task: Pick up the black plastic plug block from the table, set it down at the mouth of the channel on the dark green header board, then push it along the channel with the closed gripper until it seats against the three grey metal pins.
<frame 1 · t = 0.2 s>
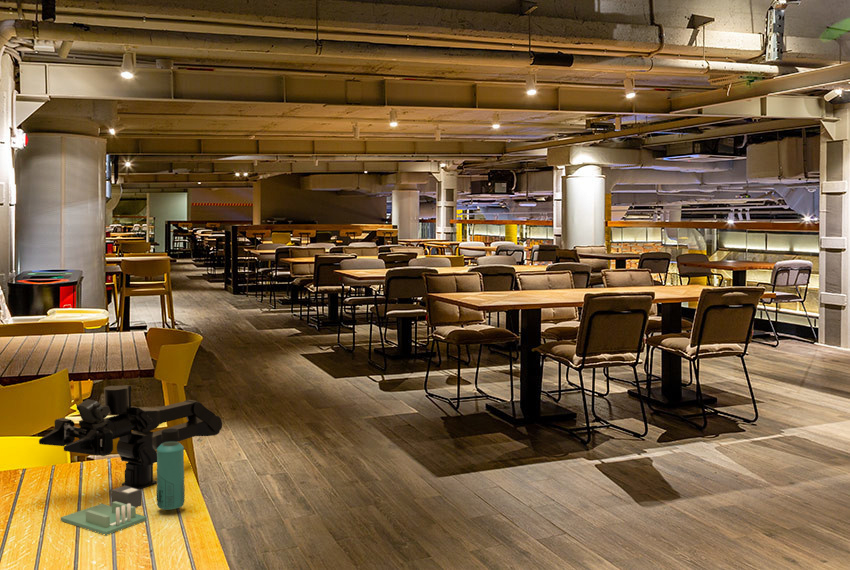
hand: (51, 445, 180), 16 cm above the table, tool horizontal, fingers open, 9 cm apart
beverage bottle: (170, 512, 185), on the table
header board: (103, 520, 178), on the table
plug: (126, 505, 188), on the table
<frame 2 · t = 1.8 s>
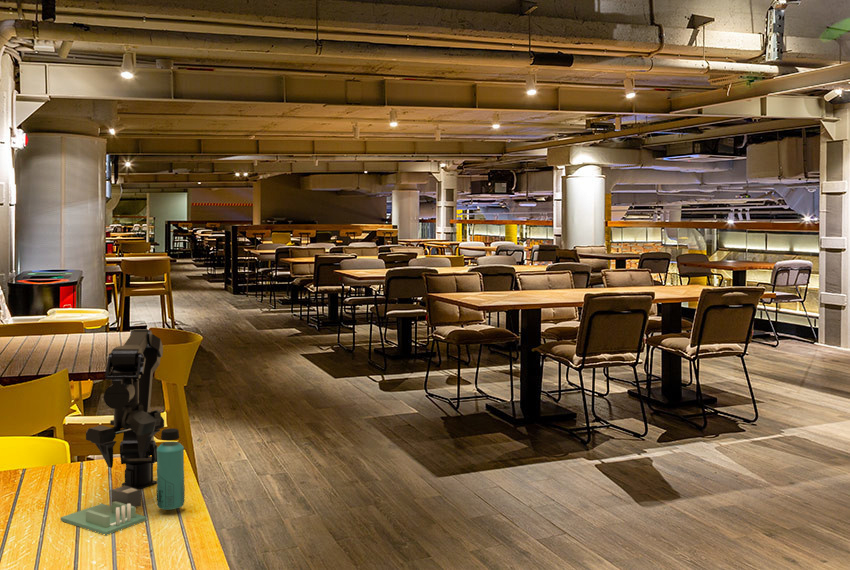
hand: (126, 462, 188), 11 cm above the table, tool pointing down, fingers open, 9 cm apart
nothing on the table moved.
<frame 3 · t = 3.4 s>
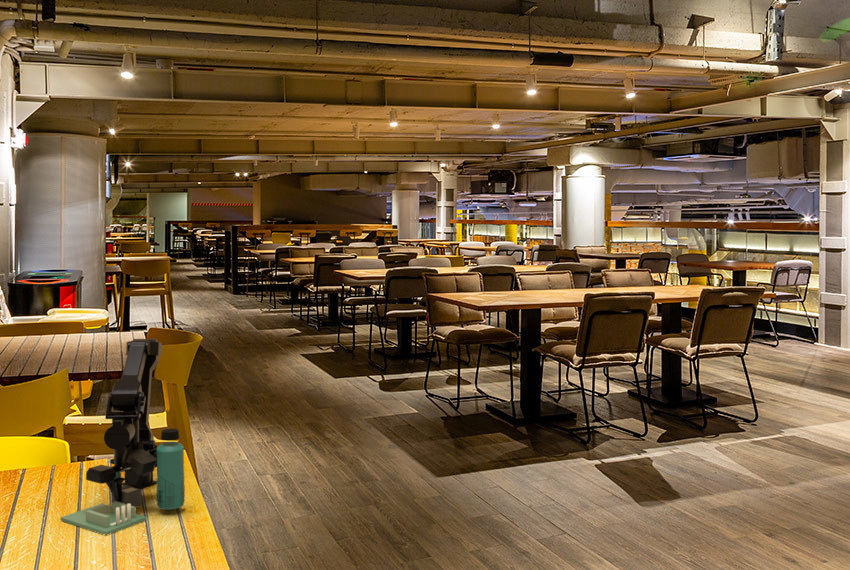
hand: (126, 501, 188), 1 cm above the table, tool pointing down, fingers closed on plug, 4 cm apart
plug: (126, 505, 188), on the table, touching gripper
everything else where it was.
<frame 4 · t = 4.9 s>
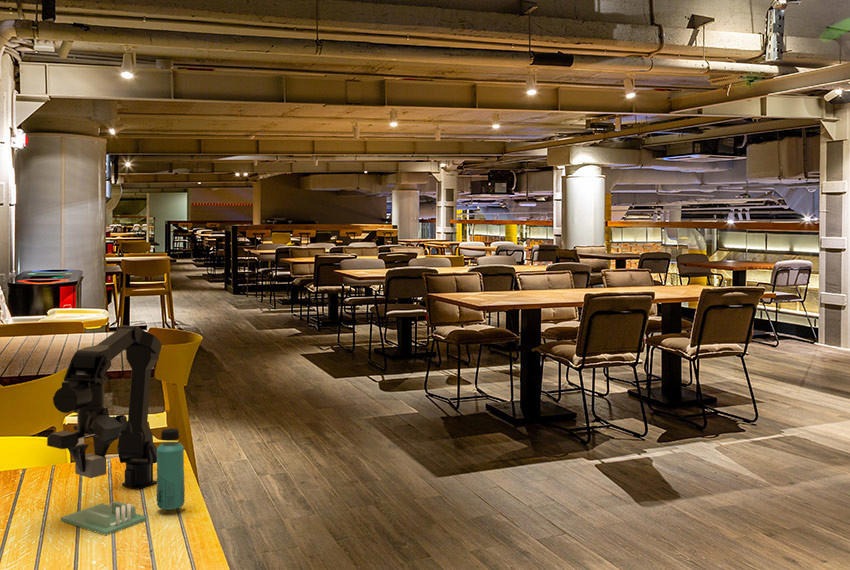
hand: (90, 469, 180), 11 cm above the table, tool pointing down, fingers closed on plug, 4 cm apart
plug: (90, 473, 180), point 10 cm above the table, touching gripper
everything else where it was.
when the fingers open (3 cm above the table, at t = 6.4 s): plug drops 1 cm, resting on header board.
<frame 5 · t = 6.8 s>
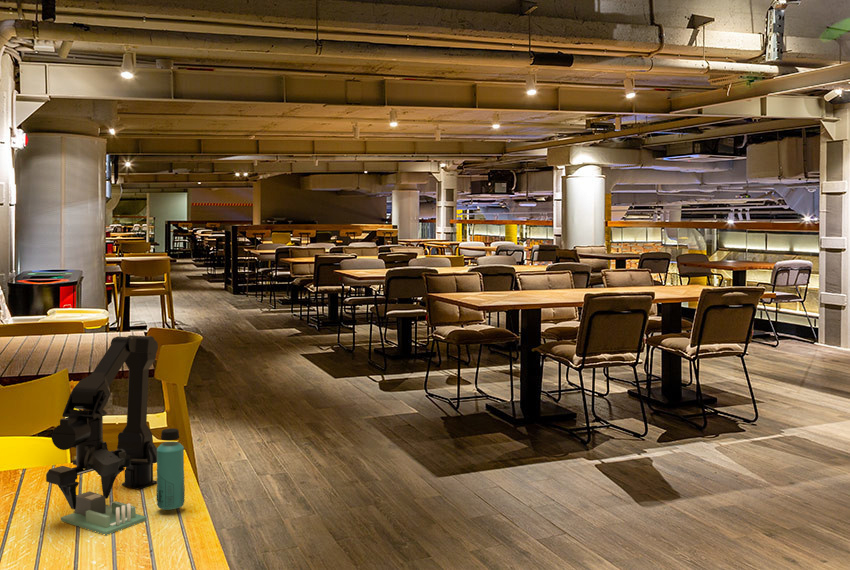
hand: (90, 503, 180), 3 cm above the table, tool pointing down, fingers open, 8 cm apart
plug: (90, 512, 181), point 1 cm above the table, touching header board
everything else where it was.
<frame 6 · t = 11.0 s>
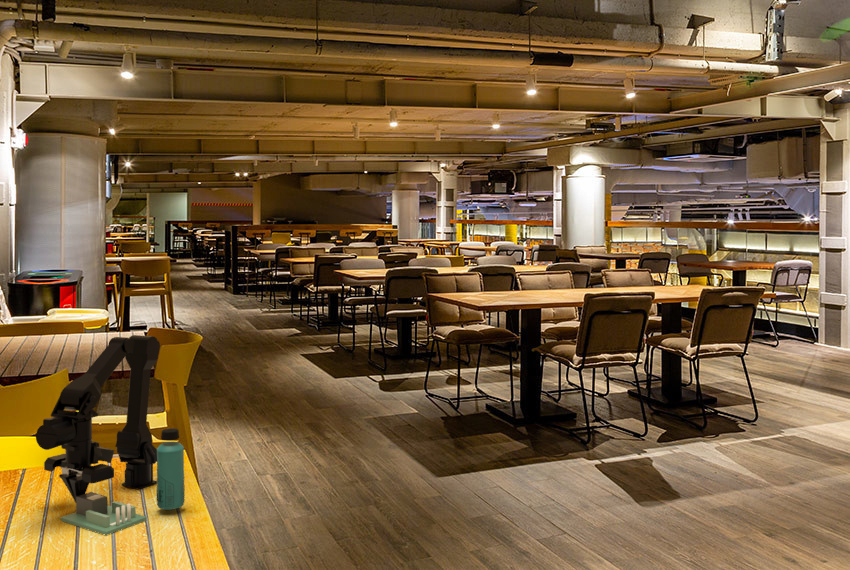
hand: (79, 503, 182), 2 cm above the table, tool pointing down, fingers closed
plug: (91, 513, 180), point 1 cm above the table, touching gripper
everything else where it was.
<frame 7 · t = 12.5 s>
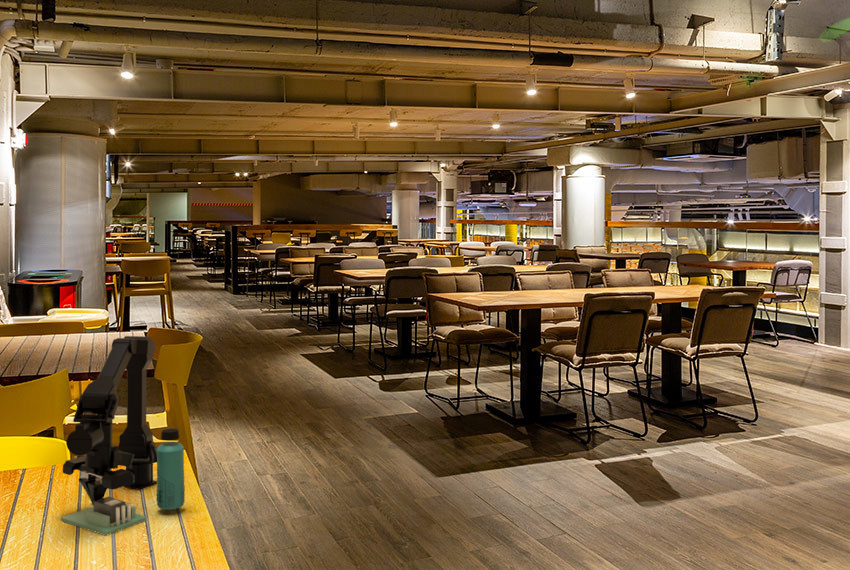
hand: (97, 508, 179), 2 cm above the table, tool pointing down, fingers closed
plug: (109, 518, 177), point 1 cm above the table, touching gripper, header board
everything else where it was.
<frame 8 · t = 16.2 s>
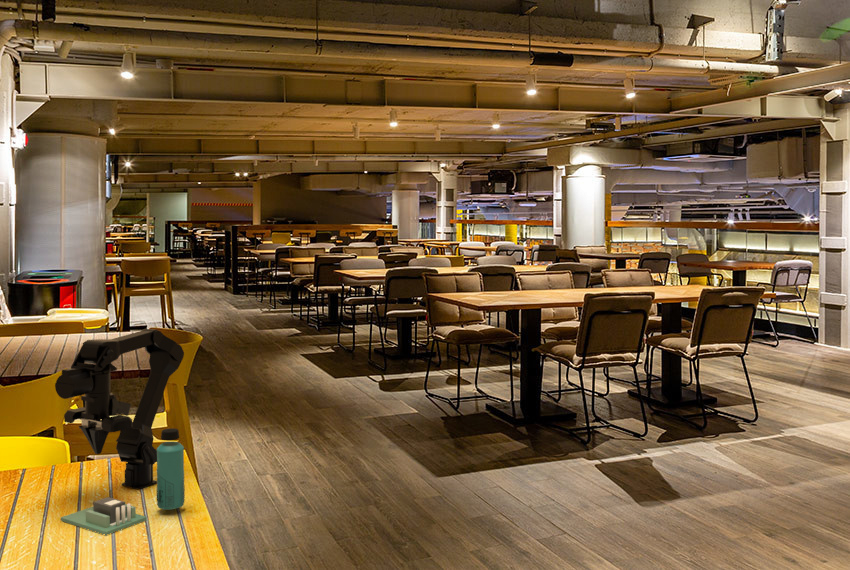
hand: (98, 453, 190), 12 cm above the table, tool pointing down, fingers closed
plug: (109, 518, 177), point 1 cm above the table, touching header board
everything else where it was.
at the end: plug 1.2 cm from the target spot on the header board, point 0.8 cm above the header board's base; plug tilted 0°; the gripper is holding nothing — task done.
